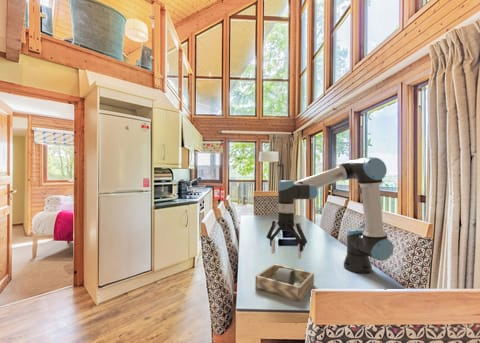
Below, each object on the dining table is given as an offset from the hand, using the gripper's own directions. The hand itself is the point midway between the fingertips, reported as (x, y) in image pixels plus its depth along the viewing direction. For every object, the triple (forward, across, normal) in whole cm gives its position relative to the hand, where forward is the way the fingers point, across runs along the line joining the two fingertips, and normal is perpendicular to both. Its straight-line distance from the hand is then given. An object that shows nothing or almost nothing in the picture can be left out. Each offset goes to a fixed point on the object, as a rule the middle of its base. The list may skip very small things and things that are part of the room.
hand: (286, 255), depth 122 cm
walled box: (+15, 0, 0) cm, 15 cm away
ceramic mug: (+14, 0, -2) cm, 14 cm away
